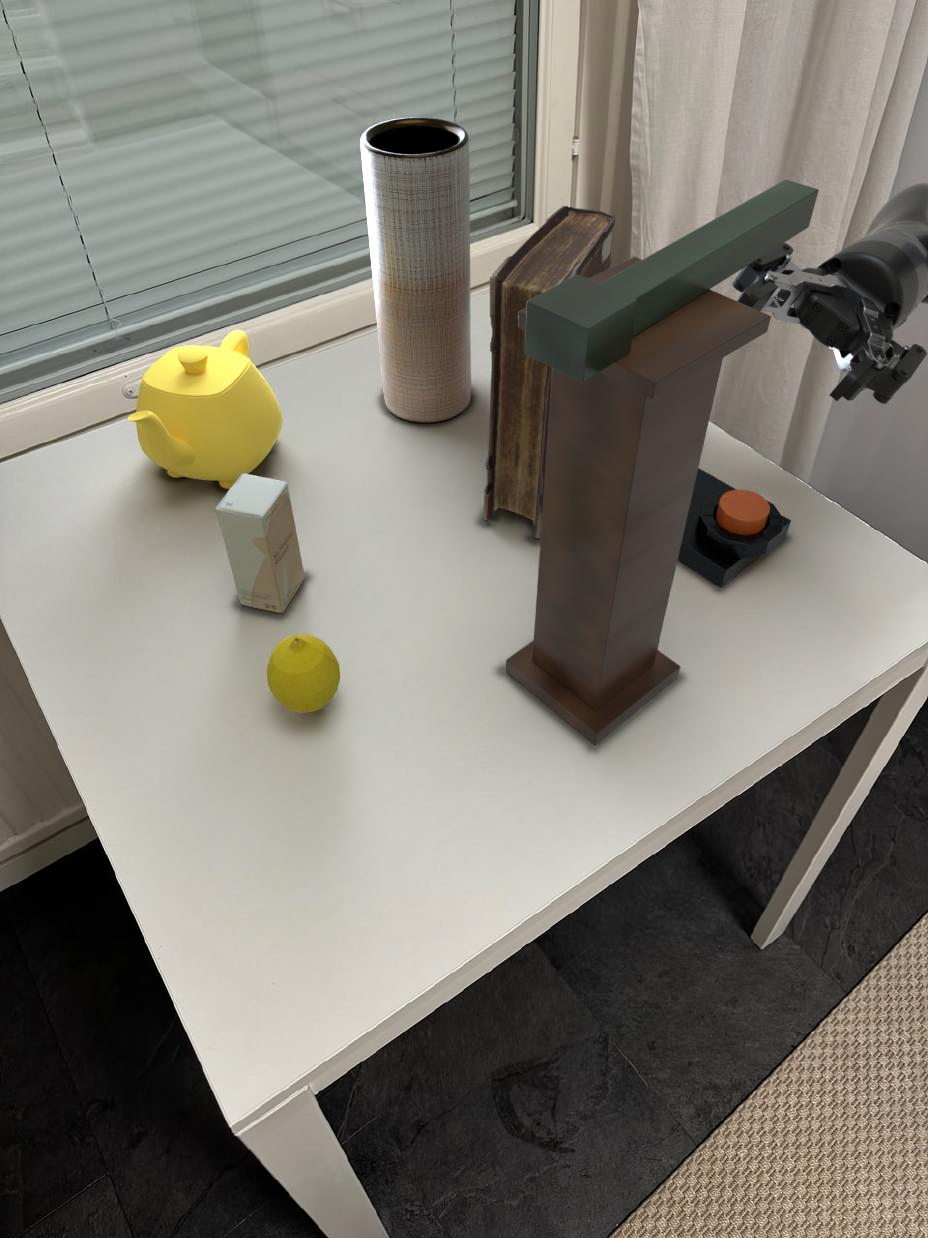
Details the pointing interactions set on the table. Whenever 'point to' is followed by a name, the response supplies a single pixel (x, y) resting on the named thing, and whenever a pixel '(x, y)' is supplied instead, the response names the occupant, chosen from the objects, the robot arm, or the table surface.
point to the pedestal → (622, 511)
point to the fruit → (303, 673)
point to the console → (723, 535)
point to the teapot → (207, 412)
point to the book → (523, 381)
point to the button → (742, 512)
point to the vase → (420, 263)
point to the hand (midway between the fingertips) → (792, 348)
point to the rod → (658, 283)
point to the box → (261, 542)
